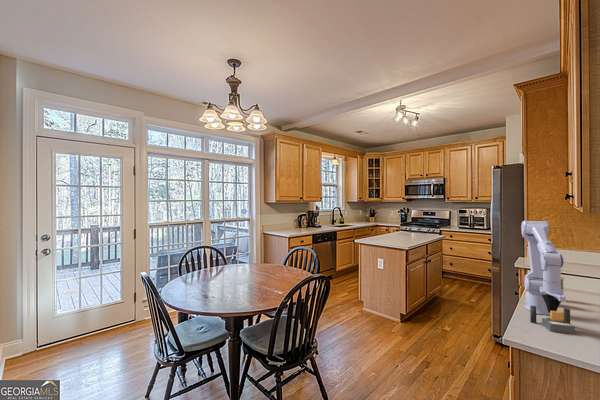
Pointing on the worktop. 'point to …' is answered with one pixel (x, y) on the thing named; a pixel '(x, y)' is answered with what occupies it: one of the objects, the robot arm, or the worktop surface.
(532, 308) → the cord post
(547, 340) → the worktop surface
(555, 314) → the breaker paddle
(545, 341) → the worktop surface
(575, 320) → the worktop surface
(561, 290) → the sprinkles bottle
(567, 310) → the cylinder
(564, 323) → the breaker box
